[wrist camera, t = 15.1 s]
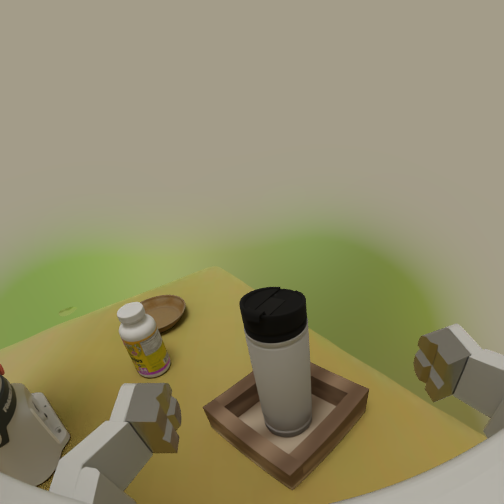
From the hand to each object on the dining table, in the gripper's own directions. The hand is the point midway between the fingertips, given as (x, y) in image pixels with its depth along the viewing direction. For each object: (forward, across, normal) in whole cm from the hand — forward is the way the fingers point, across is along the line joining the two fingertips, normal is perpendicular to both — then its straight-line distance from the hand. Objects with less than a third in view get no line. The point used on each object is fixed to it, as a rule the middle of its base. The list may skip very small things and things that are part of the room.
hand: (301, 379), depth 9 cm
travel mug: (+17, 0, +28) cm, 33 cm away
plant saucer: (+49, +24, +29) cm, 62 cm away
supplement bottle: (+33, +22, +29) cm, 49 cm away
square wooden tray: (+17, 0, +28) cm, 33 cm away
